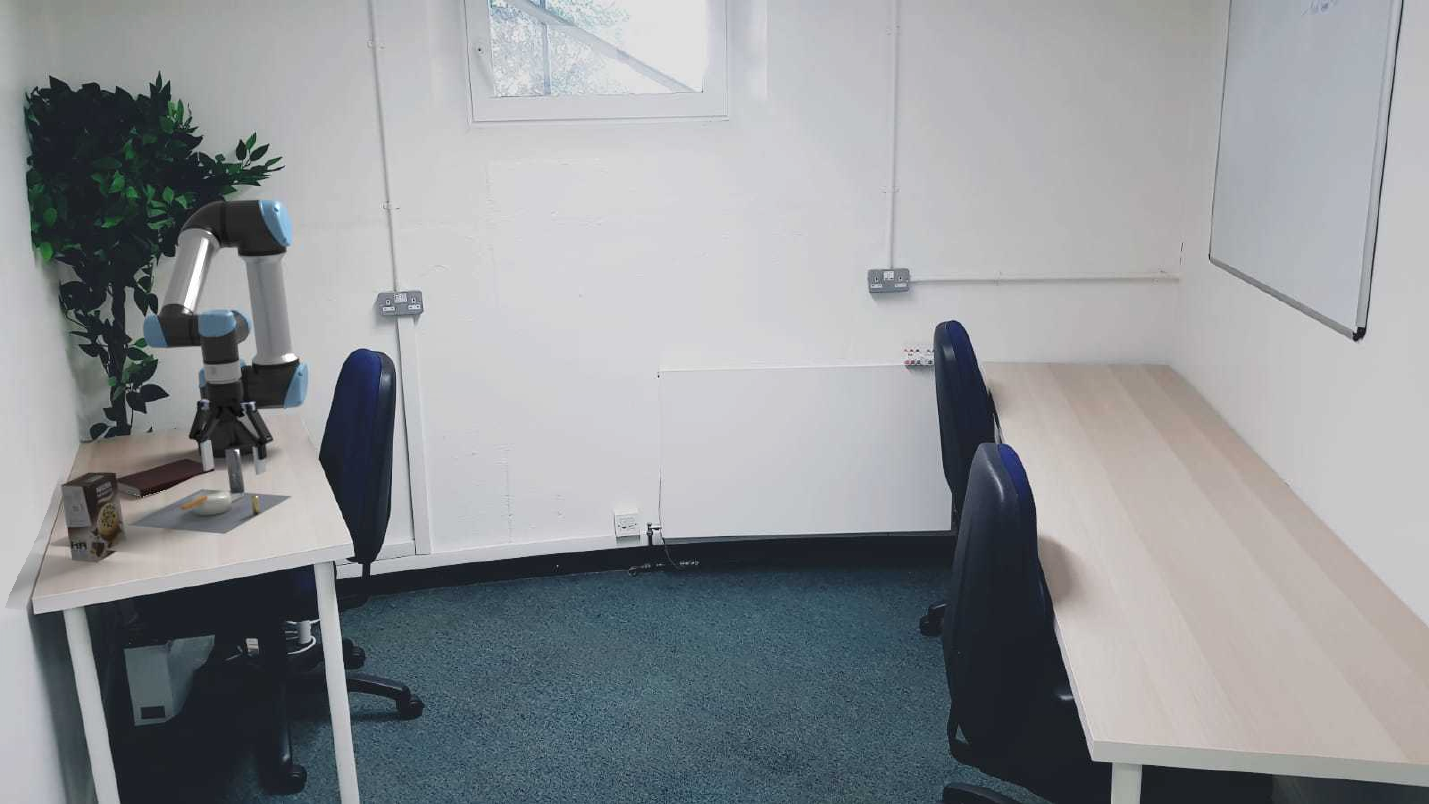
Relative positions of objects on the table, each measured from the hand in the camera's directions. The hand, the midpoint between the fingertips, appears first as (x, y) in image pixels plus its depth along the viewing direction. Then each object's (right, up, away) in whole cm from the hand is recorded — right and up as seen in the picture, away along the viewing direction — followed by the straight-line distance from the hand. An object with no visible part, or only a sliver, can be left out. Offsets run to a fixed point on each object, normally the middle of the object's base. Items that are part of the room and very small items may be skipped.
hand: (234, 471), depth 274 cm
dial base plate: (-2, -10, -6) cm, 12 cm away
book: (-24, -5, +18) cm, 30 cm away
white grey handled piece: (-2, -8, -7) cm, 11 cm away
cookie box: (-17, -16, -26) cm, 35 cm away
